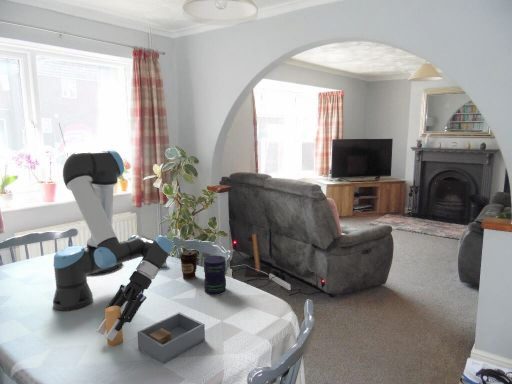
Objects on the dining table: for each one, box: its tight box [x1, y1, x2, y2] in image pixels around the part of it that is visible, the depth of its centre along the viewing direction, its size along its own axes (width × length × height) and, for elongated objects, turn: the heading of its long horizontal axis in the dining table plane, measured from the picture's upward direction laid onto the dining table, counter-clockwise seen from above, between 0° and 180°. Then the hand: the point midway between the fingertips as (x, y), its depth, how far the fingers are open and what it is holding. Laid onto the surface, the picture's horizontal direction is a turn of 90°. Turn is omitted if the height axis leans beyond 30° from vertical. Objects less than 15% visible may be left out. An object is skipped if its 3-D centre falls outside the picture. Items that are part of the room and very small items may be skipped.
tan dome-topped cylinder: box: [104, 306, 124, 347], centre depth 129 cm, size 5×5×12 cm
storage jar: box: [203, 254, 227, 296], centre depth 169 cm, size 10×10×15 cm
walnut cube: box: [150, 328, 172, 345], centre depth 124 cm, size 5×5×5 cm
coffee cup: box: [179, 250, 198, 281], centre depth 184 cm, size 9×8×13 cm
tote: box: [136, 311, 206, 365], centre depth 127 cm, size 18×14×6 cm
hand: (104, 335), depth 126 cm, fingers open, 5 cm apart
